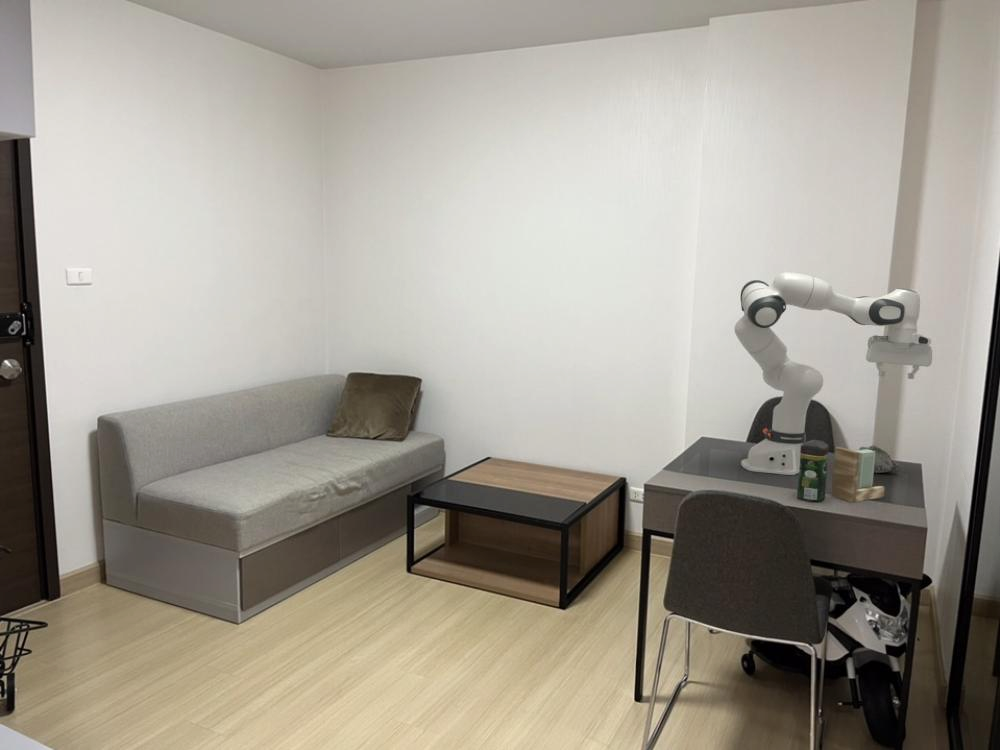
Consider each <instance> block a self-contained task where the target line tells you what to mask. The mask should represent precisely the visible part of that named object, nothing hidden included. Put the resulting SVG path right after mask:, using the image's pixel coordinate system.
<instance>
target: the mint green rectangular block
mask: <svg viewBox="0 0 1000 750" xmlns="http://www.w3.org/2000/svg"><path fill="white" fill-rule="evenodd" d="M855 451H856V452H860V457H859V468H858V479H857V490H858V489H864V488H870V487H873V485H874V484H873V483H874V474H875V472H874V463H875V451H872V450H868V449H867V450H859V449H858V450H855Z"/></svg>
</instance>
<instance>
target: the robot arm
mask: <svg viewBox="0 0 1000 750" xmlns="http://www.w3.org/2000/svg"><path fill="white" fill-rule="evenodd" d="M740 305H741V311H742V312H743V313H744V314H743V316H742V317H741V318H739V319H738V321H737V322H736V323H735V325H734V334H735V335H736V337H737V340H738V341H739V342H740V344H741V345H742V347H743V348H744V349H745V350H746V351H747V353H748V354H749V355H750V356H751V358H752V359H753V360H754V361H755V362H756V363H757V364H758V365H759V367H760V369H761V371H762V378H763V382H764V383H765V384H767V386H769V387H771V388H773V389H775V390H777V391H781V392H783V393H782V394H783V395H782V397H781V400H780V402H779V403H778V404H777V405H775V406H774V408H773V411H772V423H771V424H772V425H771V428H770V429H768V428H767V427H765V428H763V430H762V433H763V434H764V435H765V438H764V439H762V440H761V441H760V442H758V443H756V444H754V445H753V446H752V447H750V449H749V450H748V451H749V452H748V455H747V458H745V459H742V460H741V462H740V466H741V467H742V468H743V469H745V470H747V471H750V472H755V473H767V474H777V475H786V476H795V475H797V474H799V467H800V450H801V445H802V444H803V443H805V442H806V437H807V435H806V432H805V429H806V428H805V427H806V419H807V411H808V408H809V406H810V403H811V401H812V399H813V398H814V397H815V396H816V395H817V394H818V393H819V392H820V391H821V390H822V389H823V385H824V377H823V375H822V372H820V371H819V370H818V369H816V368H814V367H813V366H810V365H807V364H801V363H798V362H794V361H793V360H791V359H790V357H789V356H788V355H787V352H788V351H787V350H788V349H787V346H786V345H785V343H784V342H783V341H782V339H780V338H779V336H778V335H777V334H776V332H774V331H773V330H772V328H771V327H773V326H774V325H775V324H777V322H778V321H779V320H780V319H781V317H782V315H783V314H784V313H785V311H786V310H787V306H794V307H797V308H801V309H803V310H804V309H805V310H809V311H822V310H829V311H831V312H835V313H839V314H842V315H846V316H847V317H848V318H850V319H851V320H852V321H853V322H855V323H856V324H858V325H861V326H876V327H883V326H887V333H886V335H877V334H875V335H872V336H870V337H869V338H868V340H867V349H866V350H867V351H866V354H865V360H866V361H867V363H868V362H869V363H875V365H876V366H875V367H876V369H877V371H878V377H881V378H882V377H883V378H884V377H885V376H886V375H885V374H886V371H884V370H883V369H882V367H883V365H884V364H888V365H901V366H902V365H903V366H904V365H905V366H912V371H911V372H909V373H907V379H908V380H909V379H910V380H914V379H915V375H916V374H917V372H919V370H920V367H930V366H931V365H932V363H933V348H932V346H930V345H931V344H932V338H930V337H927V336H923V334H919V333H918V326H917V324H918V320H919V317H920V309H921V297H920V294H919V293H918V292H916V291H915V290H910V289H906V288H896V289H894V290H893V291H892V292H889V293H887V294H884V295H881V296H879V297H878V296H877V297H875V296H867V295H864V296H863V295H862V296H858V297H851V296H848V295H845V294H841V293H837V292H835V291H833V287H832V285H831V283H829V282H828V281H825V280H824V279H821V278H819V277H816V276H812V275H809V274H804V273H799V272H791V271H790V272H789V271H786V272H785V271H784V272H783V271H782V272H781V273H779V274H778V275H777V276H776V277H775V278H774V280H773V282H772V283H771V284H770V285H769V284H768V283H766V282H764V281H762V280H758V279H755V280H754V279H753V280H750V281H748V282H747V283H745V284H744V285H743V287H742V289H741V292H740Z"/></svg>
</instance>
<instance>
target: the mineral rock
mask: <svg viewBox="0 0 1000 750" xmlns="http://www.w3.org/2000/svg"><path fill="white" fill-rule="evenodd" d="M867 449H868V450H872V451H875V463H874V474H876V473H878V474H883V473H890V472H893V471H899V470H900V467H899V466H898V465H899V464H900V463H899V462H898V461H896V460H893V459H892V458H891V455H890V454H889V453H888V452H887V451H885V450H883V449H881V448H880V447H878V446H877V445H870V446H869V447H865V446H860V447H859V449H858V451H859V450H867Z"/></svg>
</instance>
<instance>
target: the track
mask: <svg viewBox="0 0 1000 750" xmlns="http://www.w3.org/2000/svg"><path fill="white" fill-rule="evenodd" d="M856 451H857V450H852V449H848V448H845V447H842V446H836V447H835V450H834V452H835V453H834V461H833V463H834V464H833V473H832V488H831V496H832V497H834V498H837V499H840V500H843V501H845V502H849V503H857V502H862V501H868V500H869V501H870V500H874V499H881V498H884V497H885V488H886V487H885V486H884V485H878V486H876V485H875V486H872V487H870V488H864V489H858V490H857V479H858V468H859V457H860V452H856Z"/></svg>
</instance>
